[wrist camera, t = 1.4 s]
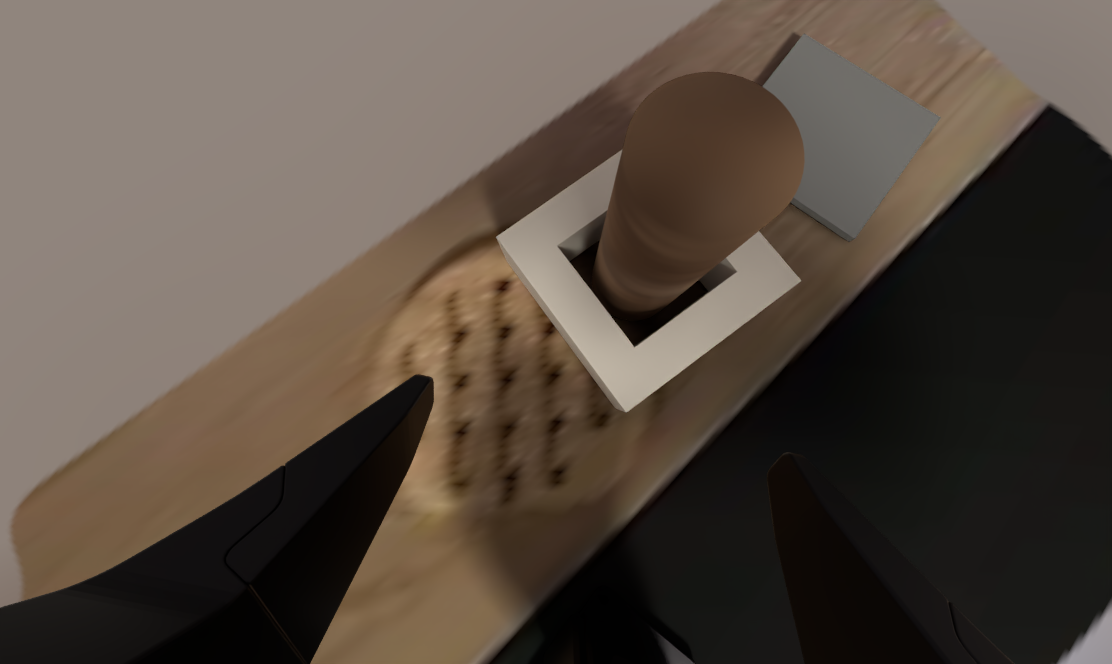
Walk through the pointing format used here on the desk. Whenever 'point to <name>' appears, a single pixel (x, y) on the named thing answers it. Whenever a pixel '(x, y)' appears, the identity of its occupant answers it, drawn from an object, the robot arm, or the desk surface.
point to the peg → (692, 187)
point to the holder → (590, 330)
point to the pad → (846, 134)
